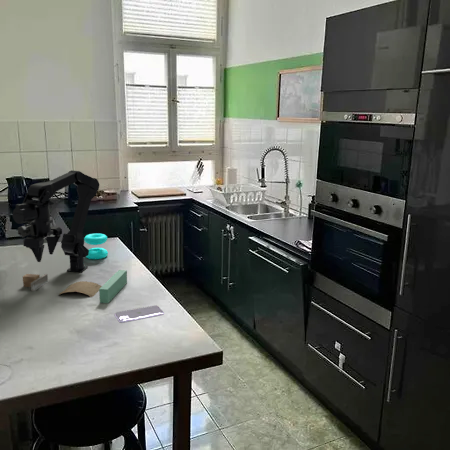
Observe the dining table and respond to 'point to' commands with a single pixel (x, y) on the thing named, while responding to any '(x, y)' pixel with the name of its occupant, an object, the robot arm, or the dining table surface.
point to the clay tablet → (84, 288)
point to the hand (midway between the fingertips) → (45, 258)
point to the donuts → (96, 240)
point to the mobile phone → (138, 313)
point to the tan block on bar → (34, 281)
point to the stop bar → (113, 286)
